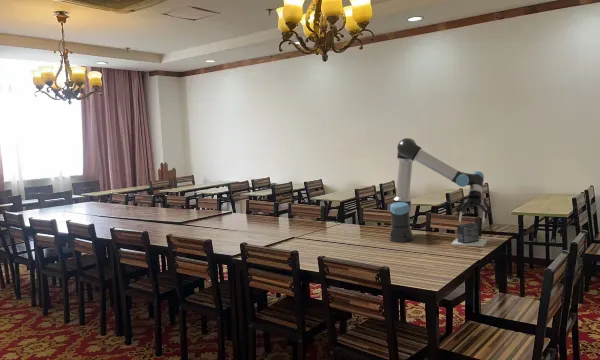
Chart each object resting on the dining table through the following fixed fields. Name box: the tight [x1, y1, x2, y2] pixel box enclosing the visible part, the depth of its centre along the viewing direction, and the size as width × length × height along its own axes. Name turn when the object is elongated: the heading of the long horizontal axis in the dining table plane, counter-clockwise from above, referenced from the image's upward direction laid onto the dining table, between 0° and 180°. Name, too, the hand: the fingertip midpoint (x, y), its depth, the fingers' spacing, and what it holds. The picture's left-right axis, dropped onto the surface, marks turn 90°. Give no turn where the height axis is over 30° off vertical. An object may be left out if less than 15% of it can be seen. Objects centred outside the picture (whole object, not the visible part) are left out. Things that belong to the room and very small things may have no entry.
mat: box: [450, 237, 488, 248], centre depth 283 cm, size 18×14×1 cm
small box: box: [456, 222, 480, 244], centre depth 282 cm, size 11×6×10 cm, turn 107°
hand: (471, 221), depth 285 cm, fingers open, 13 cm apart
